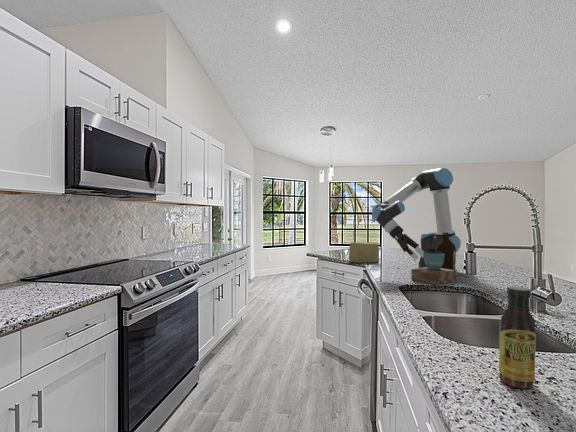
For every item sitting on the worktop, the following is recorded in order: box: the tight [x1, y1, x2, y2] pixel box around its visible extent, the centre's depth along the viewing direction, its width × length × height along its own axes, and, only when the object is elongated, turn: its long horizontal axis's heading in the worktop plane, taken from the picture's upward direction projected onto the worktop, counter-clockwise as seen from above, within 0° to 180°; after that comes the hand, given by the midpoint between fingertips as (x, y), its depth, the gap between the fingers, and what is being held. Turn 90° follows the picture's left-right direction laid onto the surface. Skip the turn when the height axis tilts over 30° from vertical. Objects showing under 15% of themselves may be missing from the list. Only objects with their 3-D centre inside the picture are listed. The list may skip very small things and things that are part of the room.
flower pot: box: [423, 252, 445, 270], centre depth 185 cm, size 9×9×9 cm
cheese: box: [348, 242, 380, 263], centre depth 264 cm, size 22×10×15 cm, turn 78°
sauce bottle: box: [498, 285, 537, 389], centre depth 72 cm, size 7×6×20 cm
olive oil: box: [436, 232, 457, 270], centre depth 200 cm, size 11×11×25 cm
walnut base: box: [410, 267, 458, 286], centre depth 185 cm, size 16×16×6 cm
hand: (421, 257), depth 189 cm, fingers open, 13 cm apart
